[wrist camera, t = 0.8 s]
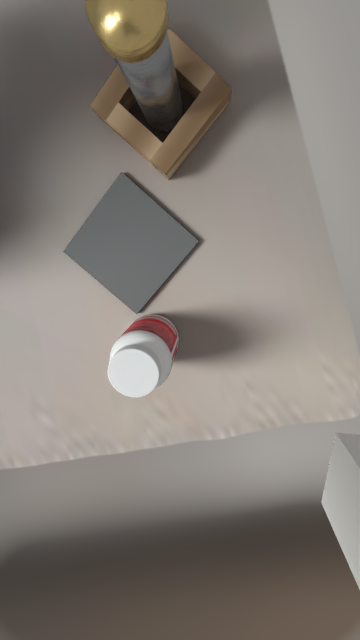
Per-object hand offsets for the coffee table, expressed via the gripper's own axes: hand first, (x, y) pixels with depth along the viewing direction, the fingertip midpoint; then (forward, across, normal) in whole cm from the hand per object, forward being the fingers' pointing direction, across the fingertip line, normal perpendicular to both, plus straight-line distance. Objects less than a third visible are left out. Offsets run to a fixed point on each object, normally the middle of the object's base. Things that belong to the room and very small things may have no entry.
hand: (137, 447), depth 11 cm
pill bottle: (+28, -3, -5) cm, 29 cm away
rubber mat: (+28, -7, +6) cm, 29 cm away
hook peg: (+28, -4, +20) cm, 34 cm away
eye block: (+28, -4, +20) cm, 34 cm away
